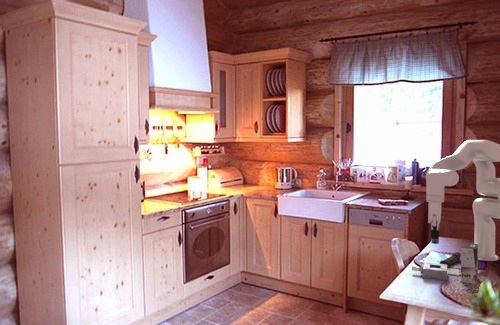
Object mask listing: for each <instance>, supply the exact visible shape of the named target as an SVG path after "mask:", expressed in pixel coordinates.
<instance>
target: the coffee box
mask: <svg viewBox="0 0 500 325" xmlns="http://www.w3.org/2000/svg"><path fill="white" fill-rule="evenodd" d="M478 275H479V260H478V244H474V243H471V242H470V243H469V242H463V243H462V244H461V247H460V282H461V283H466V284H467V283H468V284H472V285H477V283H478V277H479V276H478Z"/></svg>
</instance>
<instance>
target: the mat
mask: <svg viewBox="0 0 500 325" xmlns="http://www.w3.org/2000/svg"><path fill="white" fill-rule="evenodd" d="M449 270H450V271H449ZM447 275H458V276H459V275H460V269H456V268H449V267H447Z"/></svg>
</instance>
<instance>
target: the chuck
mask: <svg viewBox="0 0 500 325" xmlns="http://www.w3.org/2000/svg"><path fill="white" fill-rule="evenodd" d="M447 268H448V267H447V264H440V263H435V262H427V261H426V262H423V265H422V264H420V267H419V266H412V268H411V270H412V272H413V271H414V272H420V274H421V275H422V279H426V280H435V281H440V282H448V274H447Z"/></svg>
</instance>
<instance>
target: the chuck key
mask: <svg viewBox="0 0 500 325" xmlns="http://www.w3.org/2000/svg"><path fill="white" fill-rule="evenodd" d="M430 224H431V227H430V228H431V230H432V222H431V223H430ZM431 230H430V231H431ZM438 230H439V231H440V223H439V224H438ZM430 238H431V237H430ZM430 240H431V242H430V243H431V244H434V245H438V244H440V238H439V239H432V238H431V239H430Z"/></svg>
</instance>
